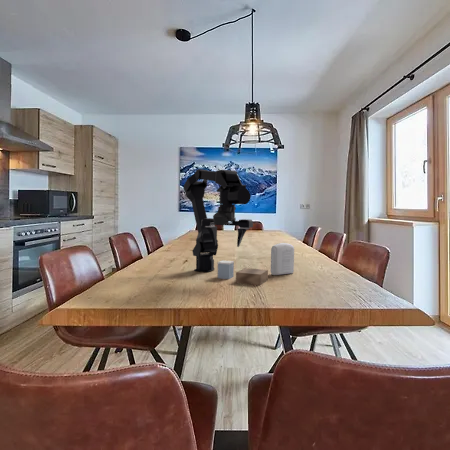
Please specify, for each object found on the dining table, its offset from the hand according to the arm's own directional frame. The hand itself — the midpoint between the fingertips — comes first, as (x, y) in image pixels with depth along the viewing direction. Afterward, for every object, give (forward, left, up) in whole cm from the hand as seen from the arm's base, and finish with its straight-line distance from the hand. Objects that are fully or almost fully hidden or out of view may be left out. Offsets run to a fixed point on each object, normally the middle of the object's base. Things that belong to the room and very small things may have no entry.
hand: (226, 246), depth 127 cm
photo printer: (+18, +16, -12) cm, 27 cm away
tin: (0, 0, -12) cm, 12 cm away
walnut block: (+11, -2, -12) cm, 16 cm away
